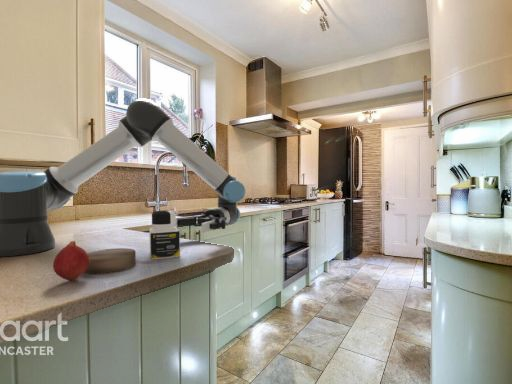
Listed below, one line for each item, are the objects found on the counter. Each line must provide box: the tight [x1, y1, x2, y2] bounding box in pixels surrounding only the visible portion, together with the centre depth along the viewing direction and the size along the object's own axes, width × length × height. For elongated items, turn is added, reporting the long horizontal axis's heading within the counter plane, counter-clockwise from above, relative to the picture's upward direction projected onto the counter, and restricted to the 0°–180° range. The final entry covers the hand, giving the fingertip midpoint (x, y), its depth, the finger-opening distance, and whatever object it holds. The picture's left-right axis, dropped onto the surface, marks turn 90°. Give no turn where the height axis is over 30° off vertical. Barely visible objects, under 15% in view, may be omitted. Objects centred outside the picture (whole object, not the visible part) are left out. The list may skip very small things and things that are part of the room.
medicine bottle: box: [148, 209, 181, 261], centre depth 73 cm, size 7×7×12 cm
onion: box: [52, 240, 89, 282], centre depth 53 cm, size 6×6×8 cm
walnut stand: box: [83, 247, 137, 275], centre depth 63 cm, size 11×11×3 cm
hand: (182, 227), depth 80 cm, fingers open, 13 cm apart
